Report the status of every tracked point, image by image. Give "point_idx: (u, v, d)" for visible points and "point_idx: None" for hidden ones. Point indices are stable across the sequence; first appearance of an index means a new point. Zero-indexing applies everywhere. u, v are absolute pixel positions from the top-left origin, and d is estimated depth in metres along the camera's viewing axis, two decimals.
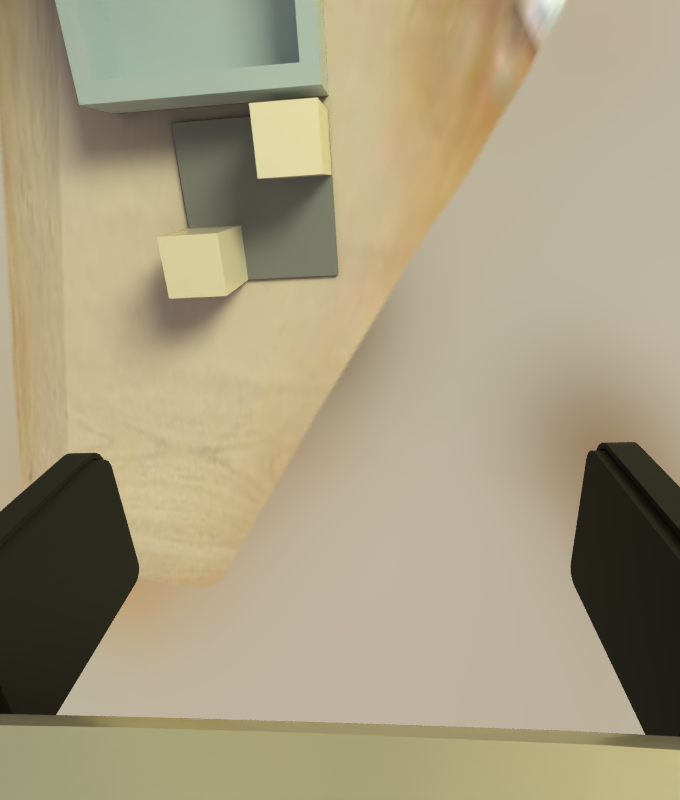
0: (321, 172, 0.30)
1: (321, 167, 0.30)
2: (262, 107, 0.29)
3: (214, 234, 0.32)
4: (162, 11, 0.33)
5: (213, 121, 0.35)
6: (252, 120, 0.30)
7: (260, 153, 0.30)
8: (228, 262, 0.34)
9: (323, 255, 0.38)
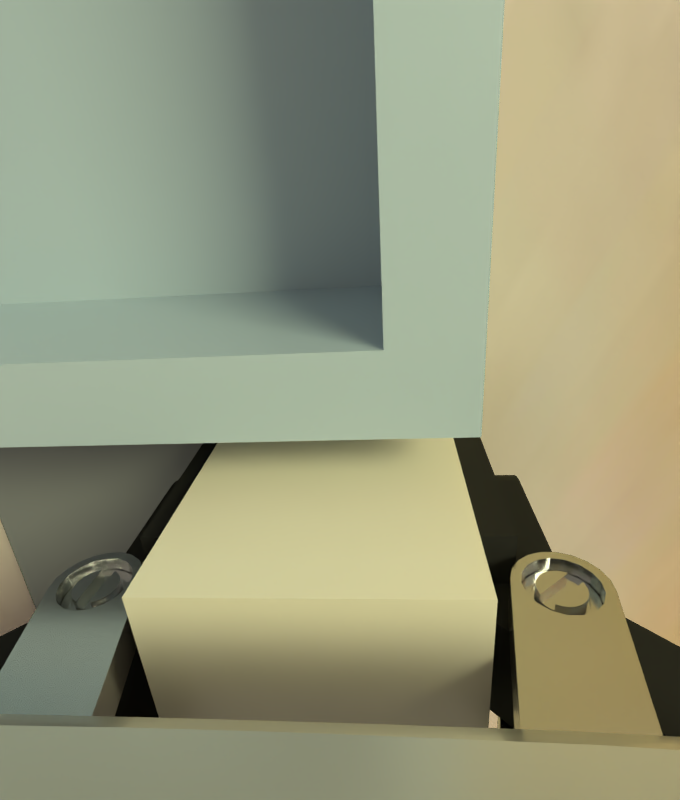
0: None
1: None
2: (194, 616, 0.06)
3: None
4: None
5: None
6: (147, 657, 0.06)
7: None
8: None
9: None
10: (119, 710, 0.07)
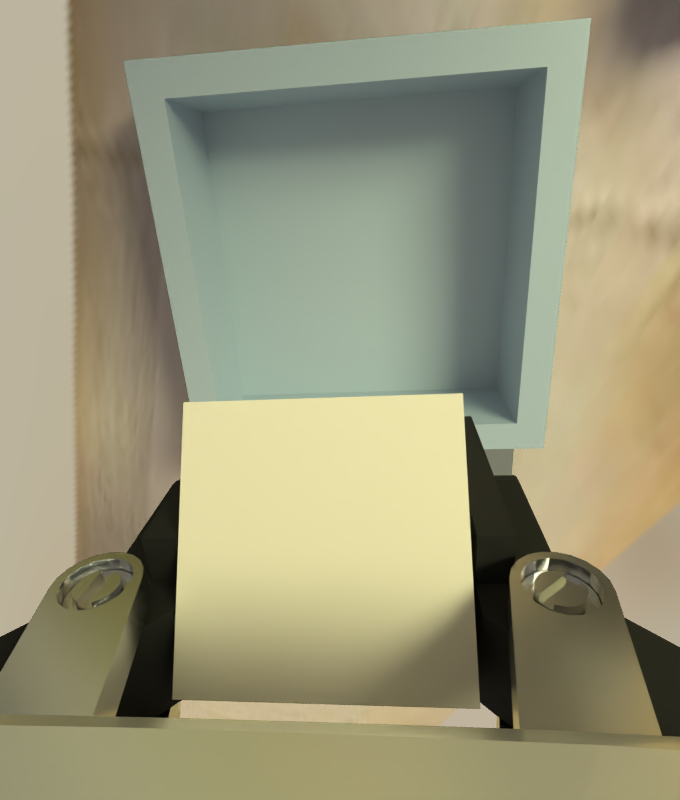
0: (472, 700, 0.06)
1: (473, 677, 0.06)
2: (234, 419, 0.07)
3: None
4: (306, 312, 0.24)
5: None
6: (187, 463, 0.07)
7: (200, 592, 0.07)
8: None
9: None
10: (120, 710, 0.07)
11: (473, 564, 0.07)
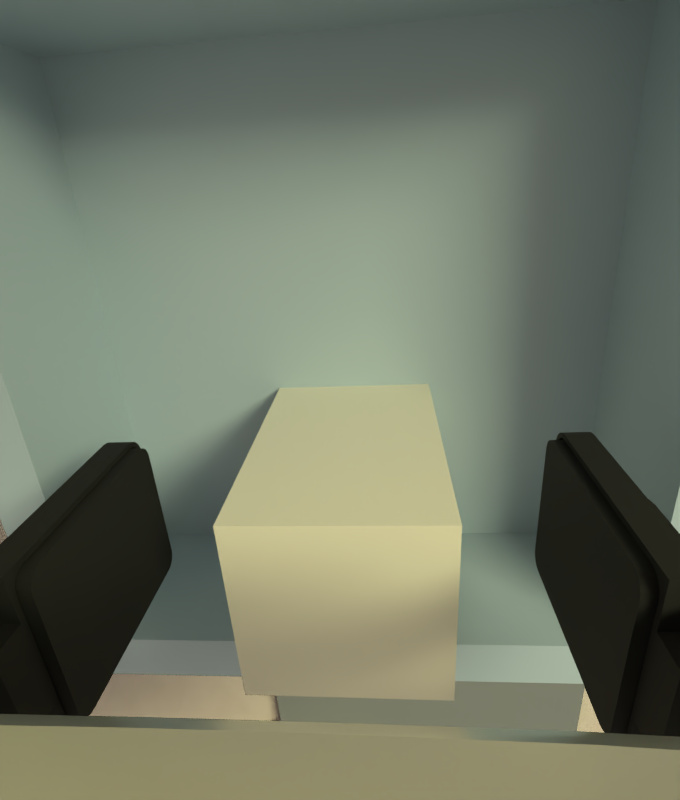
0: (449, 696, 0.09)
1: (451, 687, 0.09)
2: (260, 539, 0.08)
3: None
4: (255, 412, 0.14)
5: None
6: (226, 569, 0.09)
7: (254, 644, 0.09)
8: None
9: None
10: None
11: (654, 610, 0.06)
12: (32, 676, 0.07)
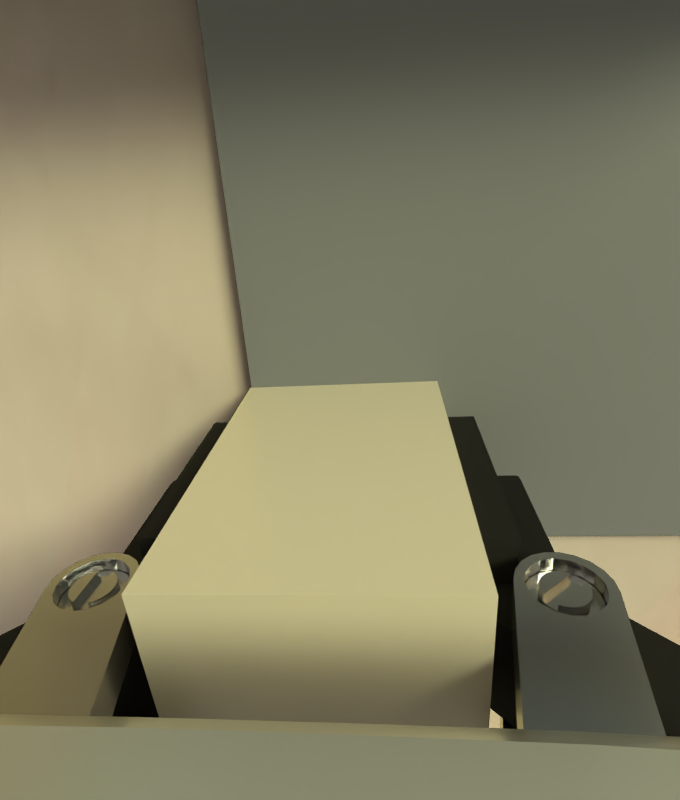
0: None
1: None
2: None
3: (477, 600, 0.05)
4: None
5: None
6: None
7: None
8: None
9: None
10: (116, 710, 0.07)
11: None
12: None
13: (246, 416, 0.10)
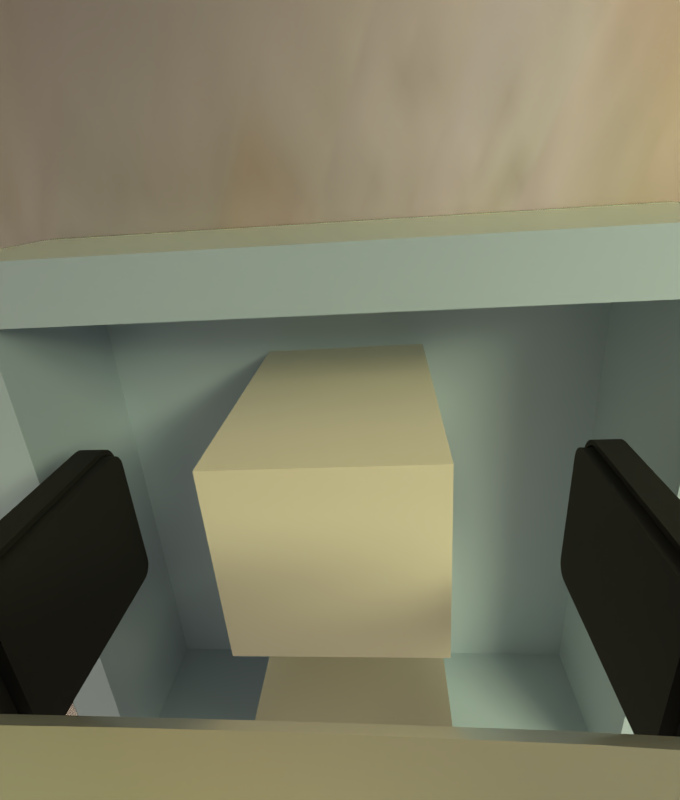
0: None
1: None
2: None
3: (439, 468, 0.08)
4: None
5: None
6: None
7: None
8: None
9: None
10: None
11: None
12: None
13: (268, 370, 0.12)
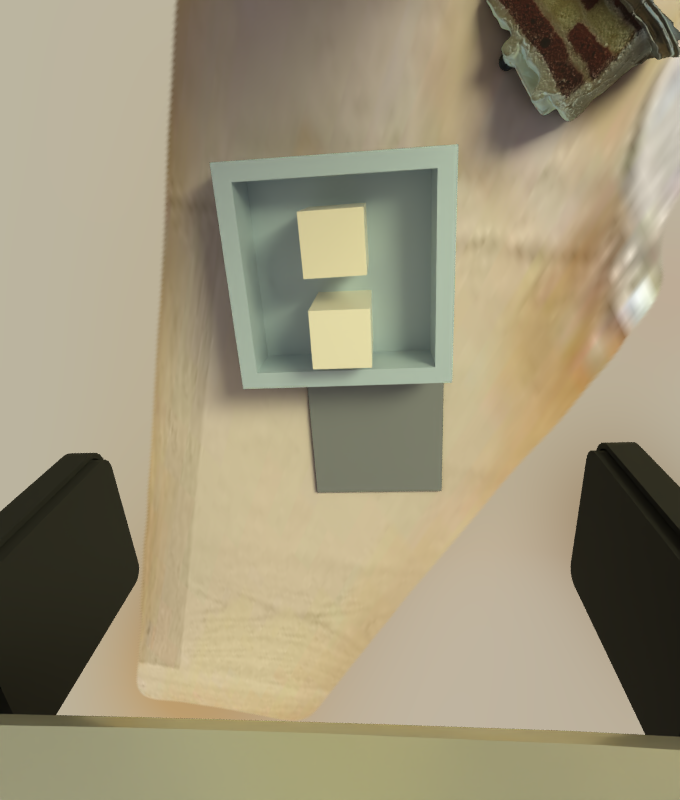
0: (370, 366, 0.34)
1: (371, 362, 0.34)
2: (320, 314, 0.33)
3: (360, 208, 0.30)
4: (309, 301, 0.39)
5: None
6: (310, 324, 0.33)
7: (316, 350, 0.34)
8: None
9: (430, 476, 0.44)
10: None
11: None
12: None
13: (310, 207, 0.35)
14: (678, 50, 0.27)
